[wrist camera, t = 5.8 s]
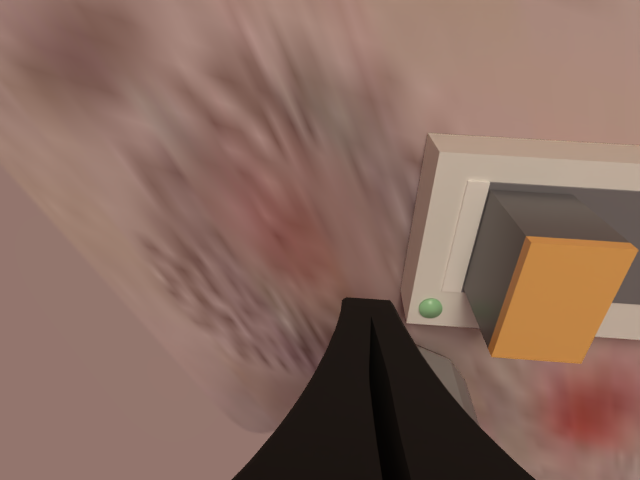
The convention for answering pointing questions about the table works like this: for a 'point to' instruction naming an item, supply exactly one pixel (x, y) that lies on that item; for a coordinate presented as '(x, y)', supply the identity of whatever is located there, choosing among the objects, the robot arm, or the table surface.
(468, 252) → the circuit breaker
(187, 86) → the table surface
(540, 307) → the knob
